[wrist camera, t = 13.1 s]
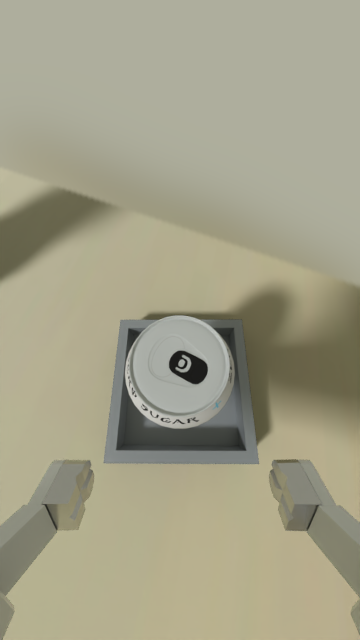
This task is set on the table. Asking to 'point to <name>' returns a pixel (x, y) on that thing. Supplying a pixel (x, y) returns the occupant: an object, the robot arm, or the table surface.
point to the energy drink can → (179, 372)
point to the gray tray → (191, 443)
